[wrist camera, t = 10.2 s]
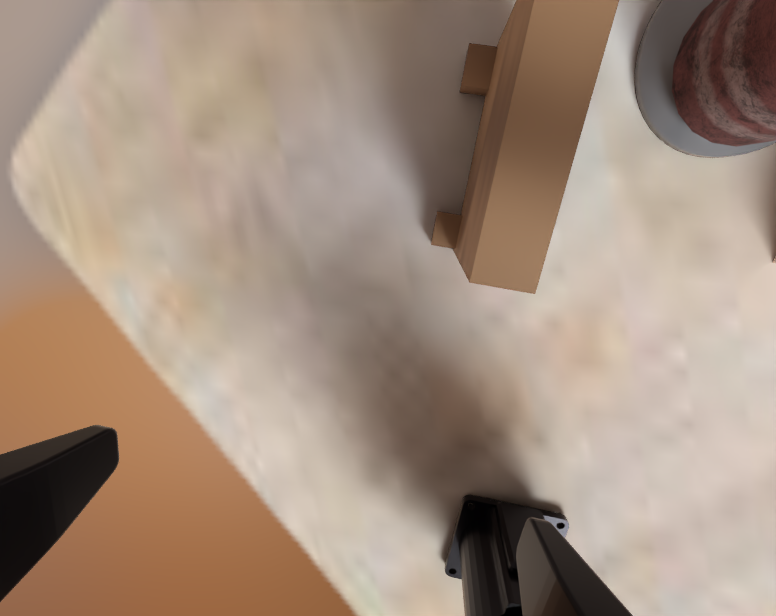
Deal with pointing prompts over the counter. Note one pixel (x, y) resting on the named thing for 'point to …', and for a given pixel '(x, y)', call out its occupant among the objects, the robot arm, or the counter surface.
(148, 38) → the counter surface
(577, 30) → the screen
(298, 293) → the counter surface
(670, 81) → the coaster
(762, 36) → the can
